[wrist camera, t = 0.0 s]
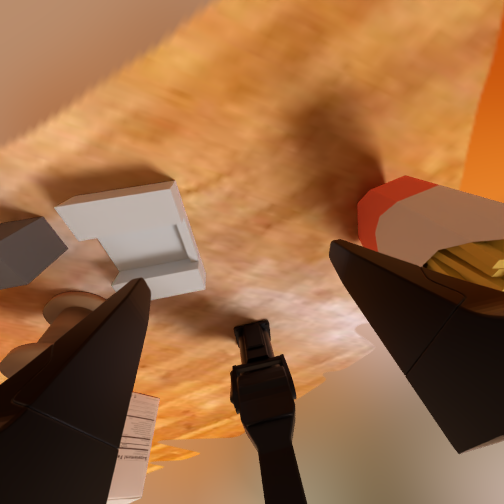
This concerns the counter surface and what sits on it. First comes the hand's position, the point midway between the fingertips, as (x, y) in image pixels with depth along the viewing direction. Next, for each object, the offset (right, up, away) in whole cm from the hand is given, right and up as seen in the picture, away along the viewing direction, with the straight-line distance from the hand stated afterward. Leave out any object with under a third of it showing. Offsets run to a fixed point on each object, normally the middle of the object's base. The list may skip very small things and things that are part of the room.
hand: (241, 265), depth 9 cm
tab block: (-23, +2, +12) cm, 26 cm away
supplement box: (-27, -33, +35) cm, 56 cm away
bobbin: (-23, -8, +18) cm, 31 cm away
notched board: (-12, +2, +14) cm, 19 cm away
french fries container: (+17, +6, +18) cm, 25 cm away
